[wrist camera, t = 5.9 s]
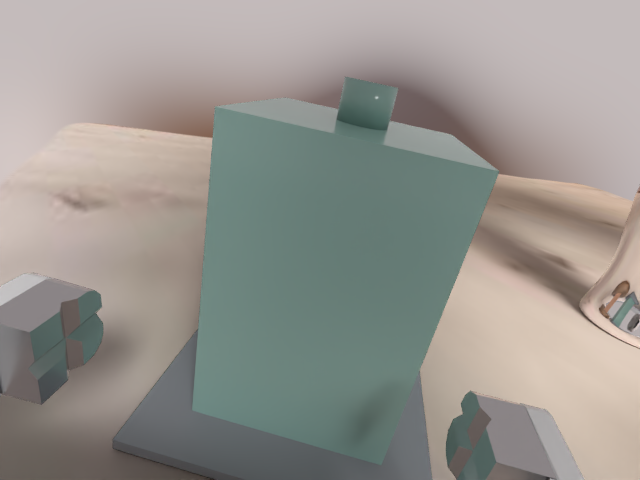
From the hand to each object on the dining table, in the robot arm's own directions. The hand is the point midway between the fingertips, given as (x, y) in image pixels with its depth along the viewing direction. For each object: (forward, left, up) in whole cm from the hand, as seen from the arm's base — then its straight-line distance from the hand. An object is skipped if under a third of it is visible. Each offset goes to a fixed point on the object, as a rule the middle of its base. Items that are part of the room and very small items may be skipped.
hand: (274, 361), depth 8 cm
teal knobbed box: (-5, -3, -5) cm, 8 cm away
